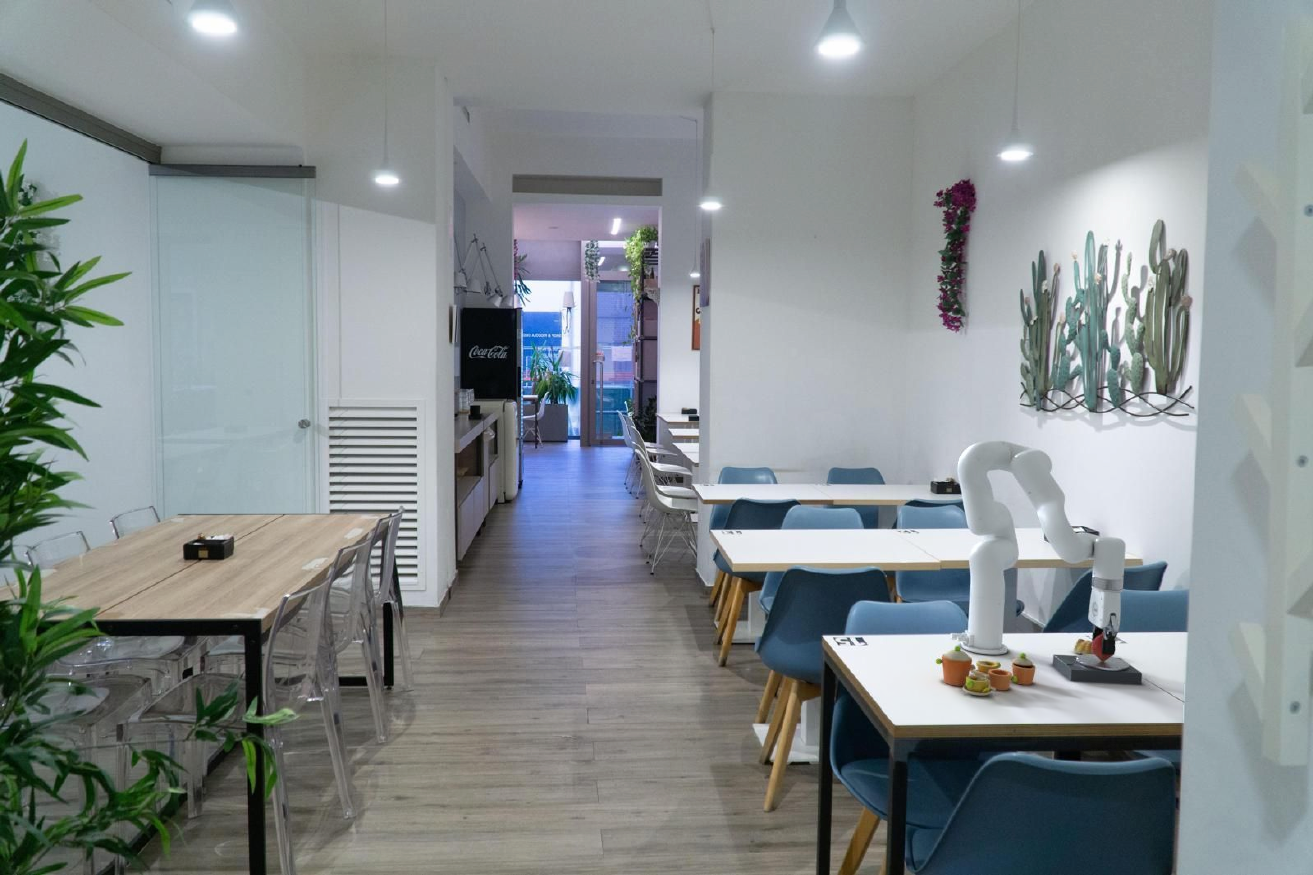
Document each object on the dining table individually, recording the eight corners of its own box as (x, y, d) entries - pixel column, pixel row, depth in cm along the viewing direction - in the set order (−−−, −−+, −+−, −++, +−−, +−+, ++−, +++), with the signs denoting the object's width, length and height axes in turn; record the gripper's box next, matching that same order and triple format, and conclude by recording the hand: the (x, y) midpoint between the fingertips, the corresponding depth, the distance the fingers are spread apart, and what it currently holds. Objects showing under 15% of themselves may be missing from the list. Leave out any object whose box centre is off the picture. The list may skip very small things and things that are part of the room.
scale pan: (1086, 669, 258) (1086, 667, 258) (1068, 655, 271) (1068, 653, 271) (1137, 672, 257) (1137, 669, 257) (1117, 657, 270) (1117, 655, 270)
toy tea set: (977, 700, 240) (979, 661, 239) (928, 682, 253) (930, 644, 252) (1045, 685, 254) (1048, 648, 253) (996, 668, 267) (998, 633, 266)
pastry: (1114, 656, 283) (1115, 643, 282) (1104, 661, 278) (1105, 647, 278) (1081, 649, 289) (1081, 636, 289) (1071, 653, 284) (1072, 640, 284)
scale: (1070, 680, 258) (1071, 668, 258) (1052, 665, 272) (1053, 653, 272) (1141, 684, 257) (1142, 672, 257) (1119, 668, 271) (1120, 657, 271)
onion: (1086, 657, 267) (1088, 628, 266) (1106, 658, 267) (1108, 628, 267) (1097, 664, 261) (1099, 634, 261) (1118, 664, 262) (1120, 634, 261)
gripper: (1081, 576, 272) (1076, 641, 273) (1105, 590, 254) (1101, 659, 256) (1109, 578, 271) (1104, 642, 272) (1135, 591, 254) (1130, 661, 255)
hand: (1103, 650), depth 264 cm, fingers closed on onion, 5 cm apart
